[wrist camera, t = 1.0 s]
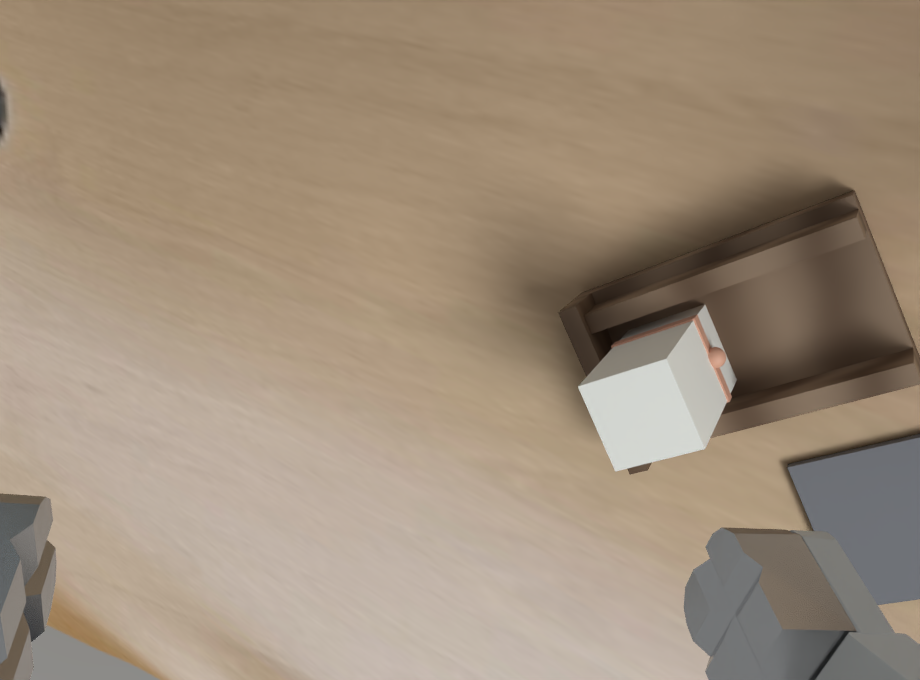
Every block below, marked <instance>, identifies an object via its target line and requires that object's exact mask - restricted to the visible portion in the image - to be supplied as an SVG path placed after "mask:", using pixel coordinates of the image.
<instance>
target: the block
mask: <svg viewBox="0 0 920 680" xmlns="http://www.w3.org/2000/svg"><path fill="white" fill-rule="evenodd" d="M611 347H612V349H611V350H610V351H609V353H608V354H607V355H606V356H605V357H604V358H603V359H602V360H601V361H600V363H599V364H598V365H597V366H596V367H595V368H594V369H593V370H592V371H591V373H590V374H589V375H588V376H587V377H586V378H585V379H584V380H583V381H582V383H581V384H580V385H579V386H578V388H579V390H580V393H581V395H582V397H583V399H584V402H585V404H586V406H587V408H588V411H589V413H590V415H591V417H592V420H593V422H594V424H595V427H596V429H597V431H598V433H599V436H600V438H601V440H602V442H603V445H604V447H605V449H606V451H607V454H608V456H609V458H610V460H611V463H612V465H613V467H614V469H615V471H619V470H623V469H627V468H631V467H635V466H639V465H643V464H647V463H651V462H655V461H659V460H663V459H667V458H671V457H675V456H679V455H683V454H687V453H691V452H695V451H699V450H703V449H705V448H706V446H707V444H708V442H709V439H710V437H711V435H712V433H713V431H714V429H715V426H716V424H717V422H718V420H719V418H720V416H721V413H722V411H723V409H724V407H725V405H726V403H728V402H730V400H731V398H732V396H731V392H732V390H733V387H734V385H735V383H736V381H737V379H736V377H735V374H734V372H733V370H732V367H731V365H730V363H729V360H728V358H727V355H726V353H725V351H724V348H723V346H722V343H721V341H720V339H719V336H718V334H717V332H716V329H715V327H714V324H713V322H712V320H711V317H710V315H709V313H708V310H707V308H706V305H705V304H704V305H701V306H698V307H695V308H692V309H689V310H686V311H683V312H680V313H678V314H675V315H672V316H669V317H666V318H663V319H660V320H657V321H654V322H651V323H648V324H645V325H642V326H639V327H637V328H634V329H631V330H628V331H627V333H626V334H625V335H624V336H623V337H622V338H621V339H620V340H619V341H617V342H614V344H613V345H612V346H611Z"/></svg>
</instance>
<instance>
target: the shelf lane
mask: <svg viewBox="0 0 920 680" xmlns="http://www.w3.org/2000/svg"><path fill="white" fill-rule="evenodd" d="M704 304H705V305H706V308H707V310H708V313H709V315H710V317H711V320H712V322H713V324H714V327H715V329H716V332H717V334H718V336H719V339H720V341H721V343H722V346H723V348H724V351H725V353H726V355H727V358H728V360H729V363H730V365H731V367H732V370H733V372H734V374H735V377H736V379H737V381H736V383H735V385H734V387H733V390H732V392H731V396H732V398H731V400H730V402H728V403H726V405H725V407H724V409H723V411H722V413H721V416H720V418H719V420H718V422H717V424H716V426H715V429H714V431H713V433H712V435H711V437H710V438H713V437H717V436H721V435H725V434H728V433H732V432H736V431H740V430H744V429H748V428H752V427H756V426H760V425H763V424H767V423H771V422H775V421H779V420H783V419H787V418H791V417H795V416H799V415H802V414H806V413H810V412H814V411H818V410H822V409H826V408H830V407H834V406H837V405H841V404H845V403H849V402H853V401H857V400H861V399H865V398H869V397H873V396H876V395H880V394H884V393H888V392H892V391H896V390H900V389H904V388H908V387H911V386H915V385H919V384H920V356H919V354H918V351H917V349H916V346H915V344H914V341H913V339H912V336H911V333H910V331H909V328H908V326H907V323H906V321H905V318H904V316H903V313H902V310H901V308H900V305H899V303H898V300H897V298H896V295H895V293H894V290H893V287H892V285H891V282H890V280H889V277H888V275H887V272H886V270H885V267H884V265H883V262H882V259H881V257H880V254H879V252H878V249H877V247H876V244H875V242H874V239H873V236H872V234H871V231H870V229H869V226H868V224H867V221H866V219H865V216H864V213H863V211H862V208H861V206H860V203H859V201H858V198H857V196H856V193H855V191H851V192H849V193H846V194H843V195H841V196H838V197H835V198H833V199H830V200H827V201H825V202H822V203H819V204H817V205H814V206H811V207H809V208H806V209H804V210H801V211H798V212H796V213H793V214H790V215H788V216H785V217H782V218H780V219H777V220H774V221H772V222H769V223H766V224H764V225H761V226H759V227H756V228H753V229H751V230H748V231H745V232H743V233H740V234H737V235H735V236H732V237H729V238H727V239H724V240H721V241H719V242H716V243H713V244H711V245H708V246H706V247H703V248H700V249H698V250H695V251H692V252H690V253H687V254H684V255H682V256H679V257H676V258H674V259H671V260H668V261H666V262H663V263H661V264H658V265H655V266H653V267H650V268H647V269H645V270H642V271H639V272H637V273H634V274H631V275H629V276H626V277H623V278H621V279H618V280H615V281H613V282H610V283H608V284H605V285H602V286H600V287H597V288H594V289H592V290H589V291H586V292H584V293H581V294H580V295H579V296H578V297H577V298H575V299H574V300H573V301H572V302H571V303H569V304H568V305H567V306H566V307H565V308H563V309H562V310H561V311H560V312H558V313H559V315H560V317H561V320H562V322H563V324H564V327H565V329H566V331H567V333H568V336H569V338H570V340H571V342H572V345H573V347H574V349H575V351H576V354H577V356H578V358H579V360H580V363H581V365H582V367H583V370H584V372H585V374H586V376H588V375H589V374H590V373H591V371H592V370H593V369H594V368H595V367H596V366H597V365H598V364H599V363H600V361H601V360H602V359H603V358H604V357H605V356H606V355H607V354H608V353H609V351H610V350H611V349H612V347H611V346H612V345H613V344H614V342H617V341H619V340H620V339H621V338H622V337H623V336H624V335H625V334H626V333H627V331H628V330H631V329H634V328H637V327H639V326H642V325H645V324H648V323H651V322H654V321H657V320H660V319H663V318H666V317H669V316H672V315H675V314H678V313H680V312H683V311H686V310H689V309H692V308H695V307H698V306H701V305H704ZM651 463H652V462H651ZM651 463H647V464H643V465H639V466H635V467H631V468H627V469H628V471H629V474H634V473H638V472H642V471H646V470H648V469H649V467H650V465H651Z"/></svg>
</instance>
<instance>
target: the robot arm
mask: <svg viewBox="0 0 920 680" xmlns="http://www.w3.org/2000/svg"><path fill="white" fill-rule="evenodd" d="M52 522H53V516H52V508H51V500H50V499H49V498H47V497H42V496H28V495H13V494H0V680H30V677H31V674H32V670H33V667H34V666H33V657H32V647H31V642H32V641H33V640H35V639H36V638H37V637H38V636H39V635H41V634H42V633H43V632H44V631H45V628H46V624H47V620H48V617H49V613H50V610H51V605H52V600H53V594H54V588H55V582H56V549H55V547H54V546H53V545H52V544H51V543H50V542H49V541H47V537H48V534H49V531H50V528H51V525H52ZM706 550H707V552H708V555H709V557H710V559H709V560H707V561H706V562H704V563H703V564H701V565H700V566H698V567H697V568H695V569H694V570H693V572H692V574H691V576H690V578H689V581H688V583H687V585H686V587H685V598H684V611H685V617H686V623H687V626H688V629H689V631H690V634H691V637H692V639H693V641H694V642H695V643H696V644H697V645H698V646H699V647H700V648H701V649H703V650H704V651H705V652H706V653H707V654H708V655H709V656H710V658H709V661H708V665H707V668H706V671H705V672H706V674H707V677H708V679H709V680H920V644H918V643H917V642H916V641H914V640H913V639H912V638H910V637H909V636H908V635H906V634H899V633H895V632H894V631H893V629H892V627H891V626H890V624H889V623H888V621H887V619H886V618H885V616H884V615H883V613H882V612H881V610H880V608H879V607H878V605H877V604H876V602H875V600H874V599H873V597H872V596H871V594H870V592H869V591H868V589H867V588H866V586H865V584H864V583H863V581H862V580H861V578H860V576H859V575H858V573H857V572H856V570H855V569H854V567H853V565H852V564H851V562H850V561H849V559H848V557H847V556H846V554H845V553H844V551H843V549H842V548H841V546H840V545H839V543H838V541H837V540H836V539H835V538H834V537H833V536H831V535H830V534H829V533H827V532H824V531H799V530H791V531H788V530H778V529H749V528H720V529H719V530H718V531H716V532H715V533H713V534H712V536H711V538H710V540H709V542H708V543H707V545H706Z"/></svg>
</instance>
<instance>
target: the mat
mask: <svg viewBox="0 0 920 680" xmlns="http://www.w3.org/2000/svg"><path fill="white" fill-rule="evenodd" d="M787 468H788V470H789V473H790V475H791V477H792V480H793V482H794V485H795V487H796V489H797V492H798V494H799V497H800V499H801V501H802V504H803V506H804V508H805V511H806V513H807V516H808V518H809V520H810V523H811V525H812V528H813V530H814V531H824V532H827V533H829V534H830V535H831V536H833V537H834V538H835V539H836V540H837V541H838V543H839V545H840V546H841V548H842V549H843V551H844V553H845V554H846V556H847V557H848V559H849V561H850V562H851V564H852V565H853V567H854V569H855V570H856V572H857V573H858V575H859V576H860V578H861V580H862V581H863V583H864V584H865V586H866V588H867V589H868V591H869V592H870V594H871V596H872V597H873V599H874V600H875V602H876V604H877V605H881V604H888V603H896V602H903V601H910V600H917V599H920V434H917V435H913V436H909V437H904V438H900V439H895V440H891V441H887V442H882V443H878V444H874V445H869V446H865V447H861V448H856V449H852V450H848V451H843V452H839V453H834V454H830V455H826V456H821V457H817V458H813V459H808V460H804V461H800V462H795V463H791V464H788V467H787Z"/></svg>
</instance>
